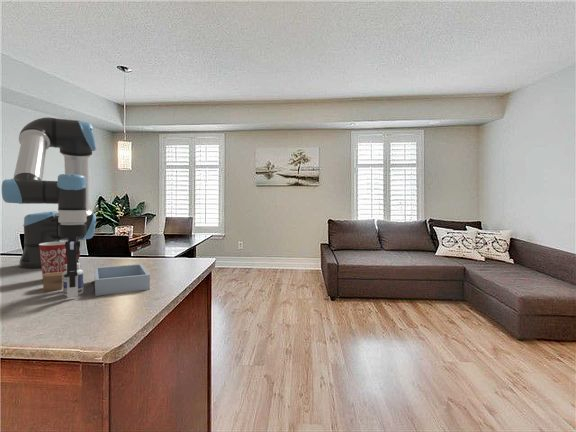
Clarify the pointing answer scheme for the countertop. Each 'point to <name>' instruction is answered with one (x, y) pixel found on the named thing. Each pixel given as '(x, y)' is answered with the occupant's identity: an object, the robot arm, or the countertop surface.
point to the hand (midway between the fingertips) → (73, 292)
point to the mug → (53, 257)
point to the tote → (121, 279)
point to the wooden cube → (53, 281)
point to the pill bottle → (80, 280)
